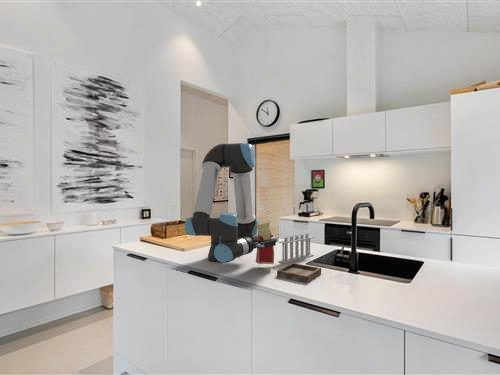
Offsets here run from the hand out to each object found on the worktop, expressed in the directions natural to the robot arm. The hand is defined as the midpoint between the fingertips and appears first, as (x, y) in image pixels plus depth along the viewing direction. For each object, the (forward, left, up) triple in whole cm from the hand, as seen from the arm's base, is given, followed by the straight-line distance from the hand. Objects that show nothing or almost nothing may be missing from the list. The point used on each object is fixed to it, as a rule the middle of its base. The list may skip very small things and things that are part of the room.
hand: (269, 237), depth 149 cm
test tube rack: (+5, +21, -15) cm, 26 cm away
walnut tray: (+19, -4, -14) cm, 24 cm away
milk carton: (0, -4, -11) cm, 12 cm away
